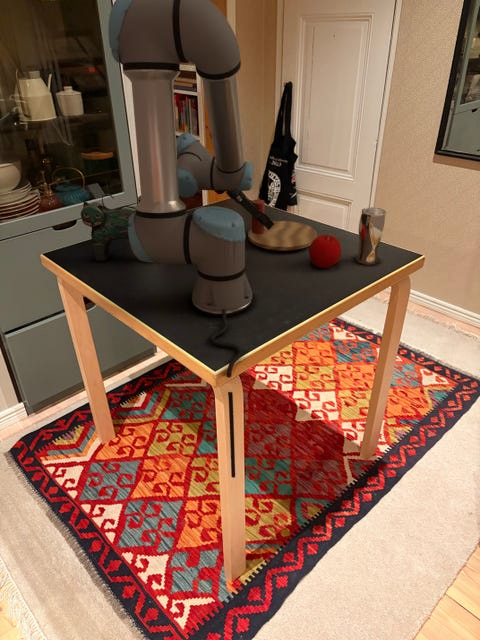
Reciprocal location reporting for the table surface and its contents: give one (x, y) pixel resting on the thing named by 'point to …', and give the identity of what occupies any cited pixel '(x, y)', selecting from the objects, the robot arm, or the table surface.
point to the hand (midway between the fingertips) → (269, 224)
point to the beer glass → (370, 234)
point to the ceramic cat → (105, 225)
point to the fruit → (325, 251)
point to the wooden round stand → (280, 233)
